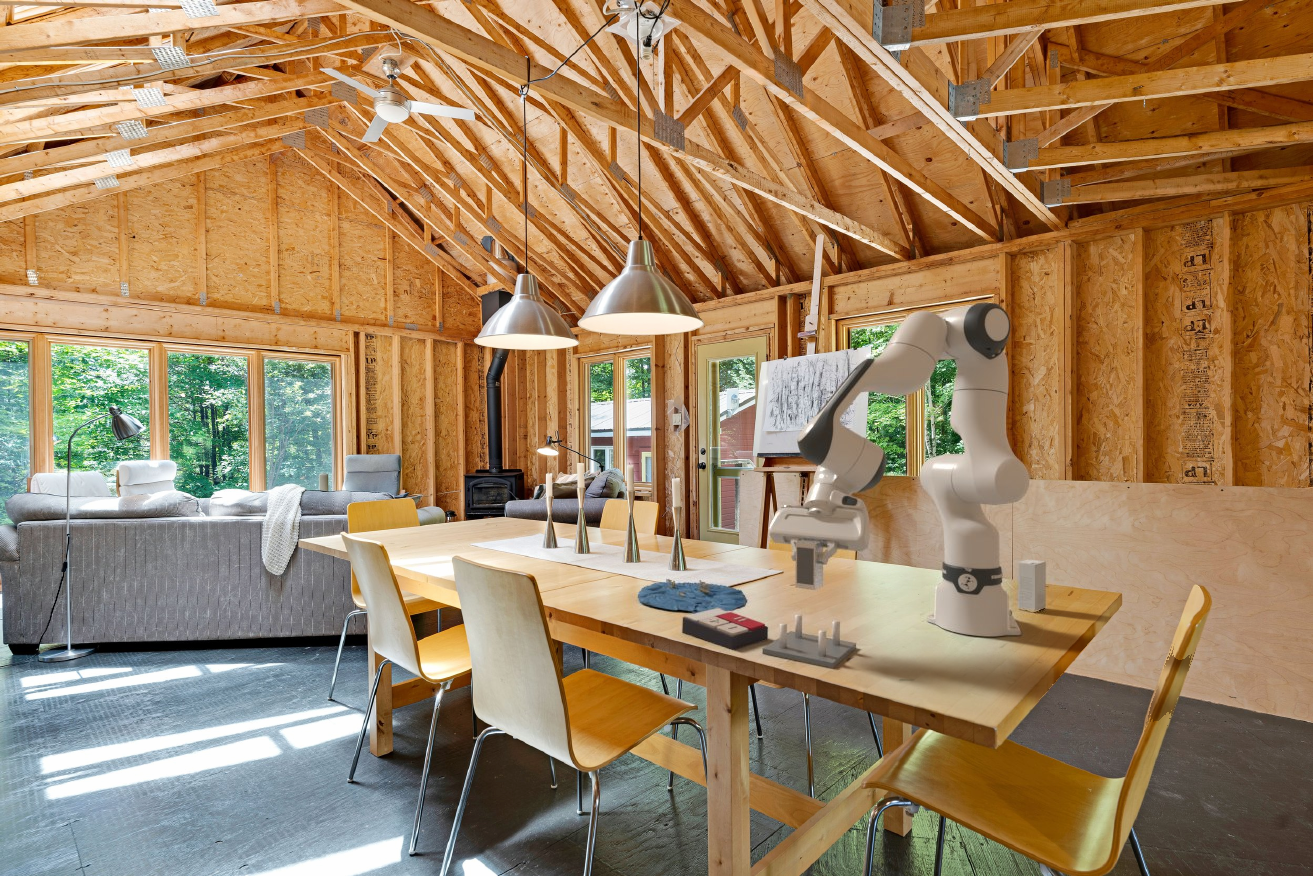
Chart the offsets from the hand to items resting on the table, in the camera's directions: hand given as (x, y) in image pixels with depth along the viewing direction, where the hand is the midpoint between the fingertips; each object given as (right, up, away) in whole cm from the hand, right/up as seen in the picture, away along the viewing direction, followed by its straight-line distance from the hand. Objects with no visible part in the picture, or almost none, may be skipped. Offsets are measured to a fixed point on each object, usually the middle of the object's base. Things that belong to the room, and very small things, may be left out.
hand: (808, 561), depth 122 cm
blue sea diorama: (-20, -19, +43) cm, 51 cm away
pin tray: (0, -18, 0) cm, 18 cm away
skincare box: (+64, -19, +32) cm, 74 cm away
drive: (0, -5, 0) cm, 5 cm away
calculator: (-16, -19, +10) cm, 26 cm away
